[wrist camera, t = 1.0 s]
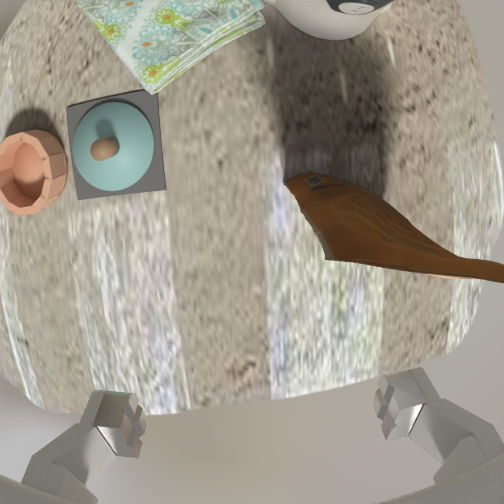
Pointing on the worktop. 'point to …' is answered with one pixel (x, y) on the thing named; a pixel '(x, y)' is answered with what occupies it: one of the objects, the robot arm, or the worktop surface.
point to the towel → (169, 32)
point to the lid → (113, 146)
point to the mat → (155, 172)
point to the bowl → (31, 171)
